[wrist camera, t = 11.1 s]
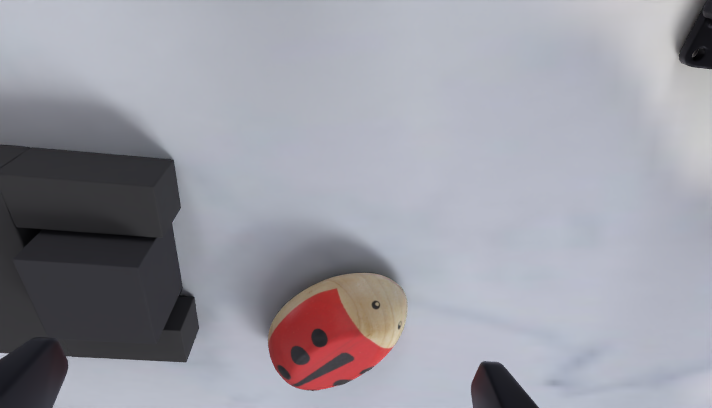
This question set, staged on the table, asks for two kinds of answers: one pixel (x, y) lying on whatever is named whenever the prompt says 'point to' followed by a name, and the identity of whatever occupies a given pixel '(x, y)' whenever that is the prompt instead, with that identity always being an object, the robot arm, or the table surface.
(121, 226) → the notched pad
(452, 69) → the table surface
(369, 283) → the ladybug figurine
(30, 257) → the black block
